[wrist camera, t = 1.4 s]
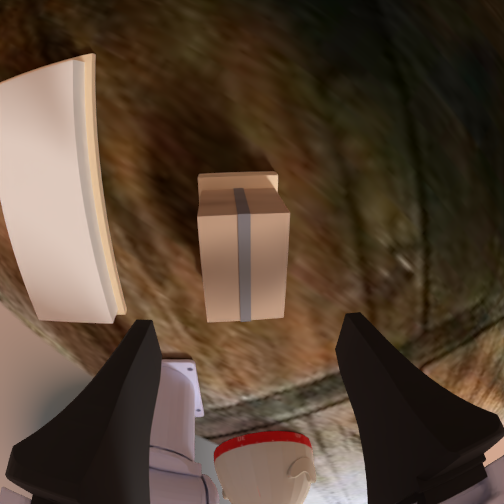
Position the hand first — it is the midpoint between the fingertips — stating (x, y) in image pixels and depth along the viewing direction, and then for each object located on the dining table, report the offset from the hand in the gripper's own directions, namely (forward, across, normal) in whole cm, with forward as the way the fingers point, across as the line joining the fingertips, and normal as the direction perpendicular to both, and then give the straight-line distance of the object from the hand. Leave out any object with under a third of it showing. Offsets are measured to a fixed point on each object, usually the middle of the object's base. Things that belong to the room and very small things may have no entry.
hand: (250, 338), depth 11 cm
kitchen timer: (+9, -3, +35) cm, 36 cm away
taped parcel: (+11, 0, +1) cm, 11 cm away
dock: (+10, +13, -2) cm, 17 cm away
